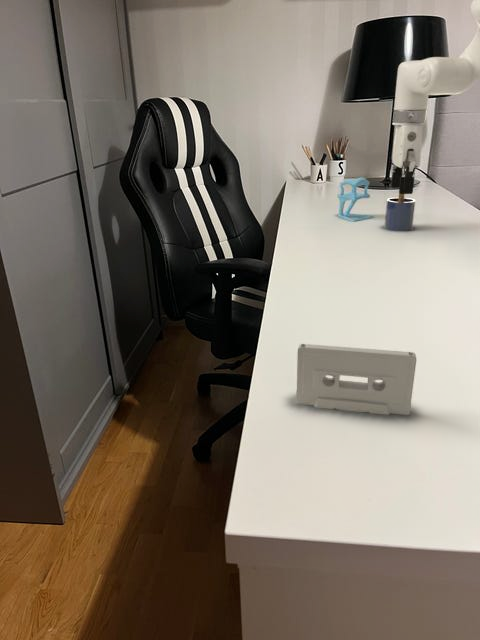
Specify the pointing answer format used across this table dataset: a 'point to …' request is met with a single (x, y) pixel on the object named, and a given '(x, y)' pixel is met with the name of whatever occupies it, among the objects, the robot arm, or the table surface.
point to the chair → (352, 197)
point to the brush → (401, 197)
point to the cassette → (359, 363)
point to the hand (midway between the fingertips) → (401, 190)
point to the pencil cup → (399, 214)
